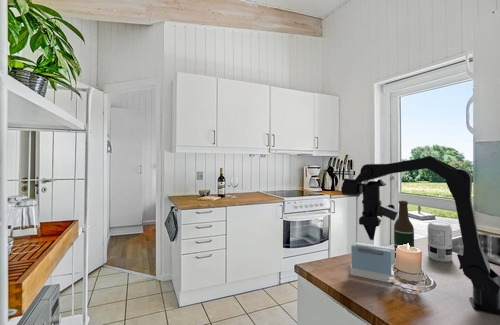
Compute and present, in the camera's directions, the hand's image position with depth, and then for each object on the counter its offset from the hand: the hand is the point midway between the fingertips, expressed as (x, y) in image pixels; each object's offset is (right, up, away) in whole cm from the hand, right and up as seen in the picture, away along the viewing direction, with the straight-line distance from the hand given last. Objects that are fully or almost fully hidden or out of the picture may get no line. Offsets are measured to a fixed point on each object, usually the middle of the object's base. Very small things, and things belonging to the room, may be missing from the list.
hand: (371, 239), depth 93 cm
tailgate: (-3, -10, -5) cm, 11 cm away
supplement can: (+36, -13, +13) cm, 40 cm away
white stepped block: (+2, -13, +3) cm, 13 cm away
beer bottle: (+23, -13, +19) cm, 33 cm away
